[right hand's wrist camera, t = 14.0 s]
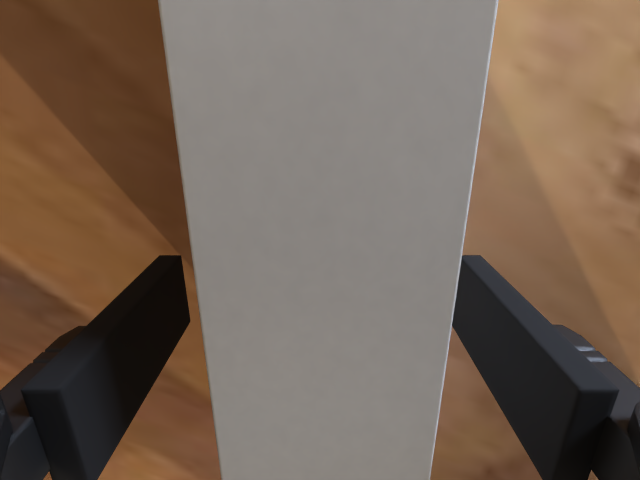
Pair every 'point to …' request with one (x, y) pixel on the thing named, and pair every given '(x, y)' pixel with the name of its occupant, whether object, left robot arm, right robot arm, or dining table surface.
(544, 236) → the dining table surface
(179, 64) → the post
